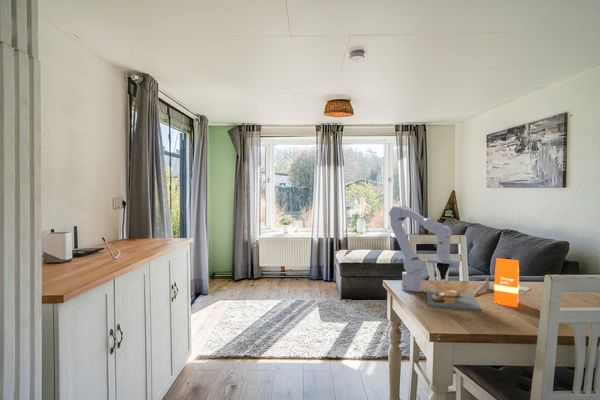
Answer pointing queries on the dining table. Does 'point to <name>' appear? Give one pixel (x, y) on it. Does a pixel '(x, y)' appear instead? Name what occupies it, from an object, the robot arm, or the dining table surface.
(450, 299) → the keeper board
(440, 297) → the link
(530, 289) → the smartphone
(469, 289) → the dining table surface
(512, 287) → the orange juice
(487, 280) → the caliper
